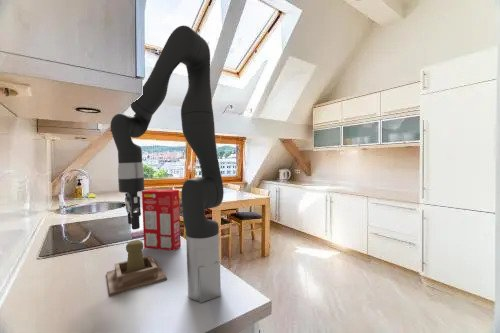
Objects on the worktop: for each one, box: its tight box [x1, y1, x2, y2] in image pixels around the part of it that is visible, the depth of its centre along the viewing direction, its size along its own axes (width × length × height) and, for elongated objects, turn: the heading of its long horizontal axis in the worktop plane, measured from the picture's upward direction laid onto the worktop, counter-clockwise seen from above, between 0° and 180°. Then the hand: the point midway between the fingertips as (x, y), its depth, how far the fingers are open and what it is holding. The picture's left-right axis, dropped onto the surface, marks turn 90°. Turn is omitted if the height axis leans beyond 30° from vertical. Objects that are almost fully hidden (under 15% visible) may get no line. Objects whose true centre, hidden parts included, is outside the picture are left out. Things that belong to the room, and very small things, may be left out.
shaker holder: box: [106, 255, 168, 297], centre depth 81 cm, size 16×16×4 cm
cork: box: [125, 239, 145, 273], centre depth 81 cm, size 6×6×11 cm
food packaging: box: [141, 189, 182, 251], centre depth 107 cm, size 15×5×25 cm, turn 76°
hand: (133, 226), depth 80 cm, fingers open, 8 cm apart
